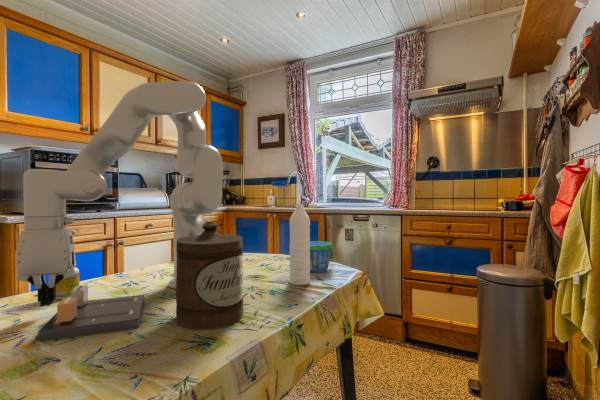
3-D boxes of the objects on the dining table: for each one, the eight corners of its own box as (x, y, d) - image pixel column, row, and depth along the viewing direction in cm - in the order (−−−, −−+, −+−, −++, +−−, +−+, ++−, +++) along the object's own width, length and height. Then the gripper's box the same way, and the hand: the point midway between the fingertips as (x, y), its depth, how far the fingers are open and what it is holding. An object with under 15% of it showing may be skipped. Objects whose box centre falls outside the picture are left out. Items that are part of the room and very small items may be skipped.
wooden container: (210, 335, 64) (210, 226, 63) (161, 321, 71) (160, 222, 71) (256, 311, 77) (255, 220, 76) (210, 301, 84) (210, 217, 84)
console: (144, 302, 83) (144, 294, 83) (138, 327, 67) (137, 318, 67) (66, 311, 77) (65, 302, 77) (38, 341, 61) (38, 331, 61)
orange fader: (77, 313, 69) (76, 296, 69) (71, 320, 65) (71, 302, 65) (63, 315, 68) (63, 298, 68) (57, 322, 64) (57, 304, 64)
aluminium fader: (87, 300, 78) (87, 284, 78) (83, 305, 74) (83, 289, 74) (76, 301, 77) (75, 285, 77) (71, 306, 73) (71, 290, 73)
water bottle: (285, 284, 100) (285, 204, 99) (294, 279, 106) (294, 203, 105) (311, 287, 96) (312, 204, 96) (319, 282, 102) (319, 203, 101)
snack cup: (309, 277, 108) (309, 247, 108) (291, 271, 116) (291, 243, 116) (342, 270, 118) (342, 242, 117) (323, 265, 126) (323, 239, 126)
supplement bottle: (66, 300, 85) (66, 263, 84) (50, 299, 86) (49, 263, 86) (84, 294, 90) (83, 259, 90) (68, 292, 91) (67, 258, 91)
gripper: (88, 221, 79) (89, 295, 79) (11, 223, 73) (13, 303, 74) (80, 224, 72) (81, 305, 72) (-5, 226, 66) (-4, 314, 67)
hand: (47, 303), depth 73 cm, fingers closed
